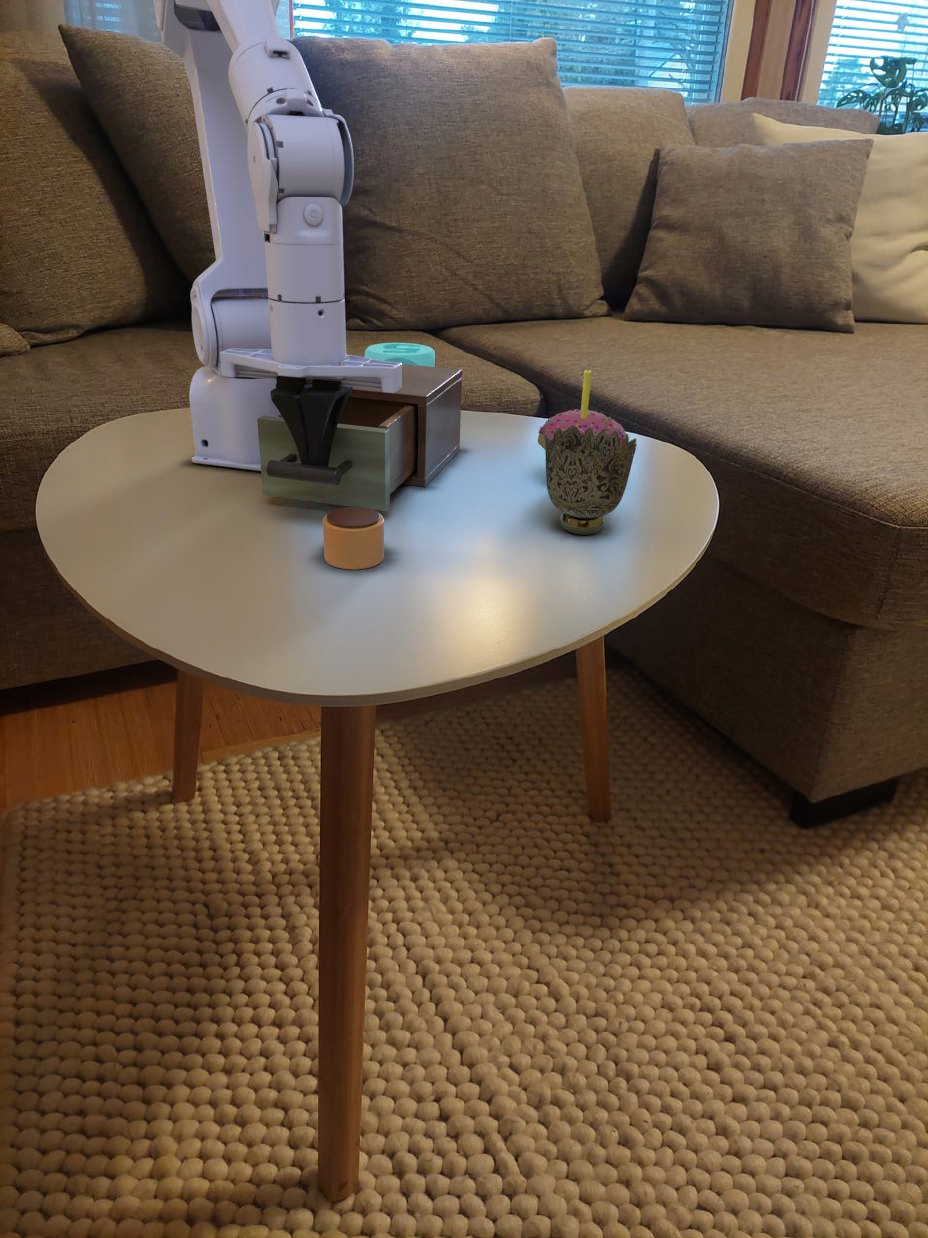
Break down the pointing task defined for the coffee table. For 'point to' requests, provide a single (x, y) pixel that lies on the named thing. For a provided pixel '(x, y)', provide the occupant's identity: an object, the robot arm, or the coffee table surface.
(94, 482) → the coffee table surface
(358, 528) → the orange short cylinder
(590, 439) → the cup
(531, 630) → the coffee table surface
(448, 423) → the cabinet
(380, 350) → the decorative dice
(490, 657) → the coffee table surface
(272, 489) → the drawer
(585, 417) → the cupcake
